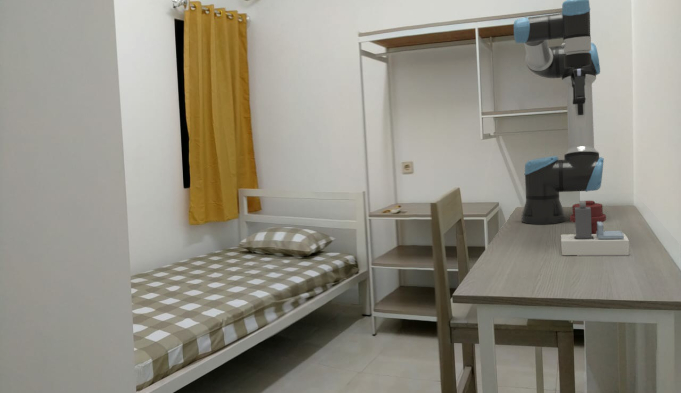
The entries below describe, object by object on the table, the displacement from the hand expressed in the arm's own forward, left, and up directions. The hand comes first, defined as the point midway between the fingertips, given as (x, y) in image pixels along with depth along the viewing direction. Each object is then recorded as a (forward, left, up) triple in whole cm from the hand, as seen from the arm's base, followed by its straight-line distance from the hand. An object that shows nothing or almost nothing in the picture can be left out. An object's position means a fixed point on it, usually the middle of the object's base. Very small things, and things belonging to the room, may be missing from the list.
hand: (579, 126), depth 183 cm
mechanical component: (+1, +1, -35) cm, 35 cm away
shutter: (+14, +6, -30) cm, 34 cm away
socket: (+15, +2, -35) cm, 38 cm away
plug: (+14, 0, -34) cm, 37 cm away
